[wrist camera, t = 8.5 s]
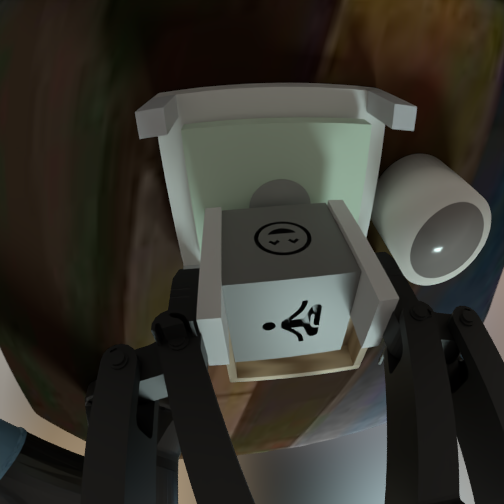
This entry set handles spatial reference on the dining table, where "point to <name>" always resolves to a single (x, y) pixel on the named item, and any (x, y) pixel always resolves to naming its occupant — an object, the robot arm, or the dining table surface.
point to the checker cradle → (262, 106)
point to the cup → (429, 218)
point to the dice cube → (286, 281)
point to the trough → (300, 362)
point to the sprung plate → (275, 163)
